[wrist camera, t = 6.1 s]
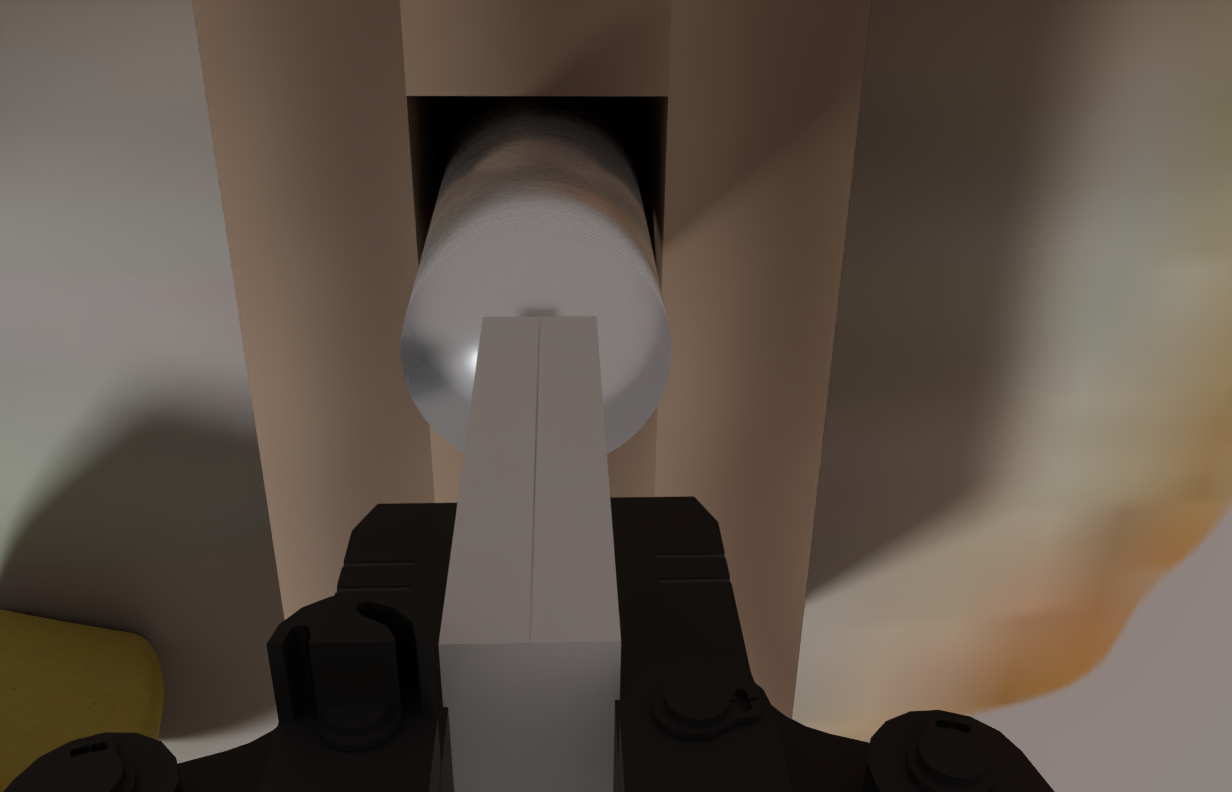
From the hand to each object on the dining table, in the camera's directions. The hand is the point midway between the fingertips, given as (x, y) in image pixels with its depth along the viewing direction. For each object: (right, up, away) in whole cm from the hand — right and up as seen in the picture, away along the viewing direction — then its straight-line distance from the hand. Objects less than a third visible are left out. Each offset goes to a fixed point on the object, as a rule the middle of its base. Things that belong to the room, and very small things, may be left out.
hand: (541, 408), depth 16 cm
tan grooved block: (-1, +2, +17) cm, 18 cm away
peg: (-1, +5, +9) cm, 11 cm away
